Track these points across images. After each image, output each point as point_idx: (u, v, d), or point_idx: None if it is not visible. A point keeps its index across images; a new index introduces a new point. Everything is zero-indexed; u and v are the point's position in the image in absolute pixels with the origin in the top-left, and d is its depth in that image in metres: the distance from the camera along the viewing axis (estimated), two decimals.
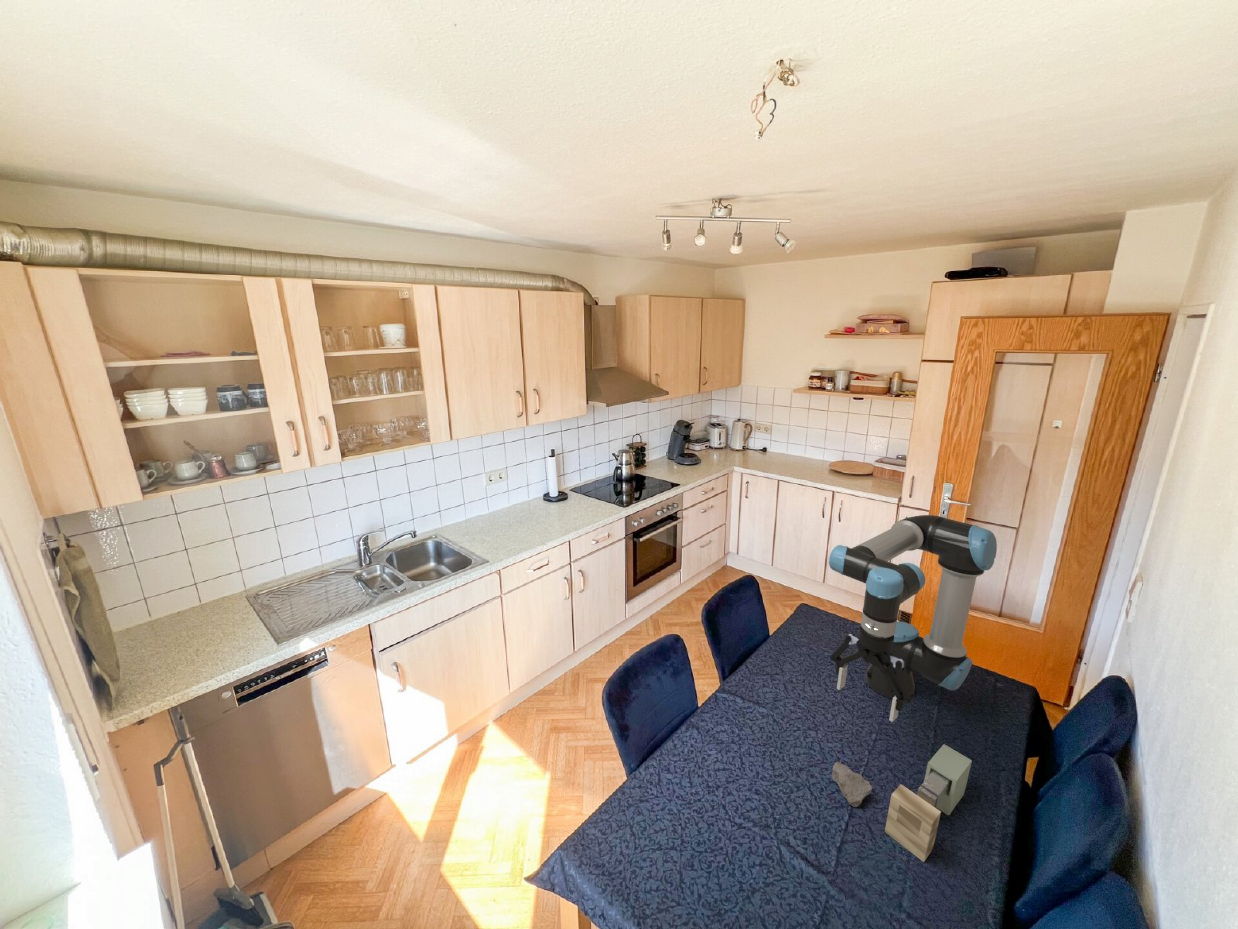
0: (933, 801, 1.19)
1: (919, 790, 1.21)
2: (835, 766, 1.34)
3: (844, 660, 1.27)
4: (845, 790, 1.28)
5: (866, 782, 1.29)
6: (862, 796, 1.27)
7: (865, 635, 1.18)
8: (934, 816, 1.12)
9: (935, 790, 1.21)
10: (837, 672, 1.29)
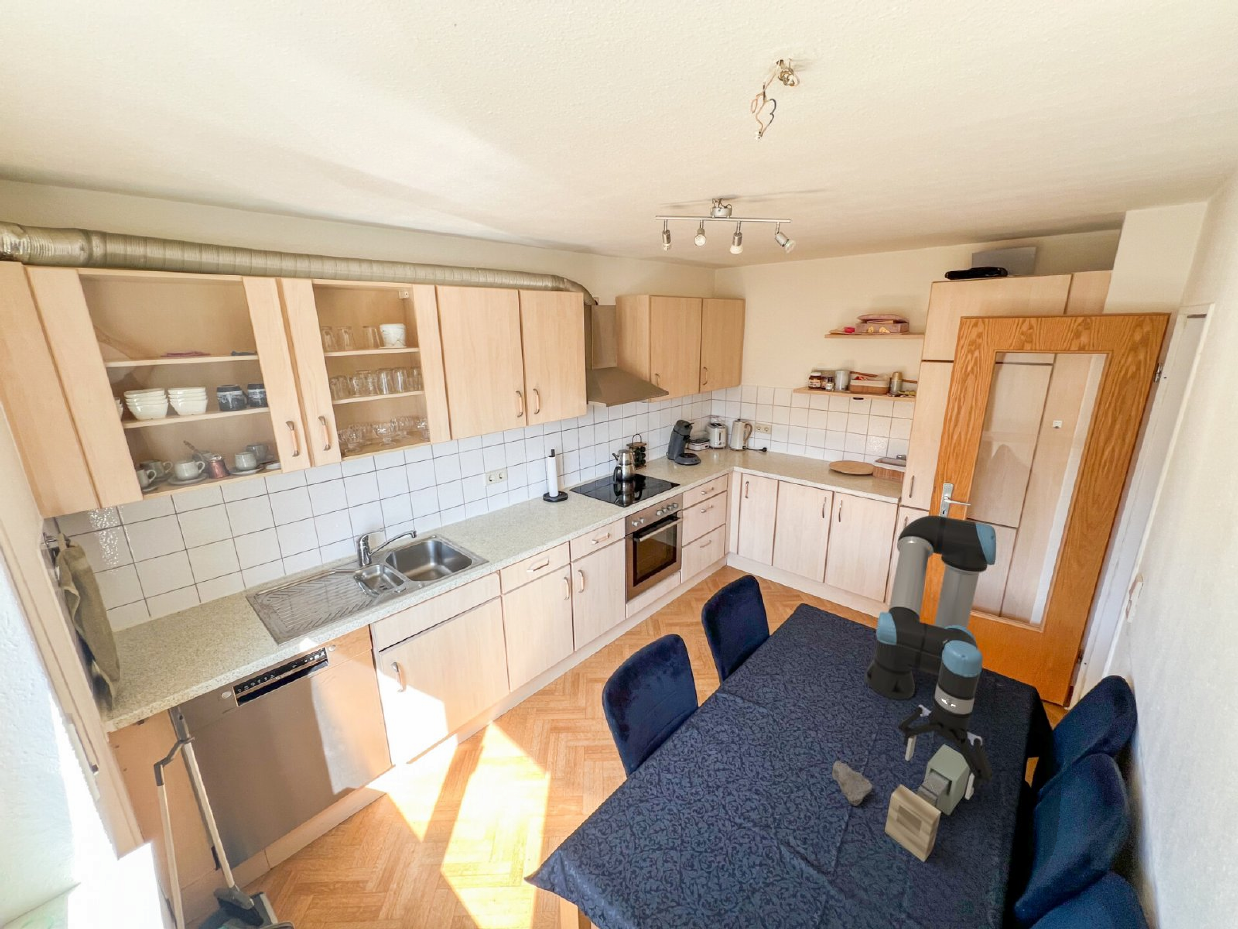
0: (933, 801, 1.19)
1: (919, 790, 1.21)
2: (835, 765, 1.34)
3: (914, 731, 1.24)
4: (845, 789, 1.28)
5: (866, 781, 1.29)
6: (862, 795, 1.27)
7: (941, 710, 1.16)
8: (934, 816, 1.12)
9: (935, 790, 1.21)
10: (905, 742, 1.27)
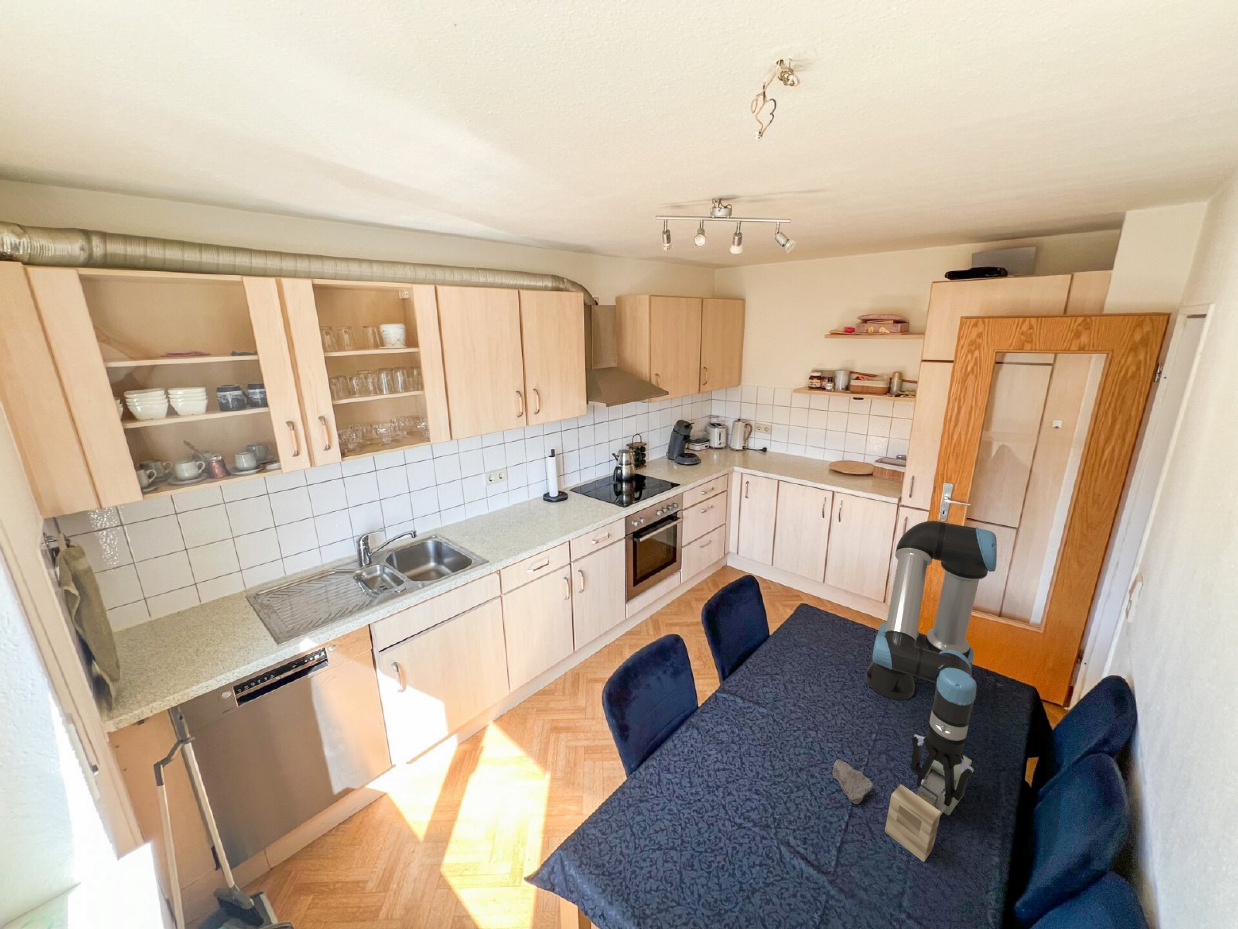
0: (933, 801, 1.19)
1: (919, 790, 1.21)
2: (836, 763, 1.34)
3: (922, 769, 1.24)
4: (846, 787, 1.29)
5: (867, 779, 1.30)
6: (863, 793, 1.27)
7: (935, 736, 1.18)
8: (934, 816, 1.12)
9: (935, 790, 1.21)
10: (918, 783, 1.26)
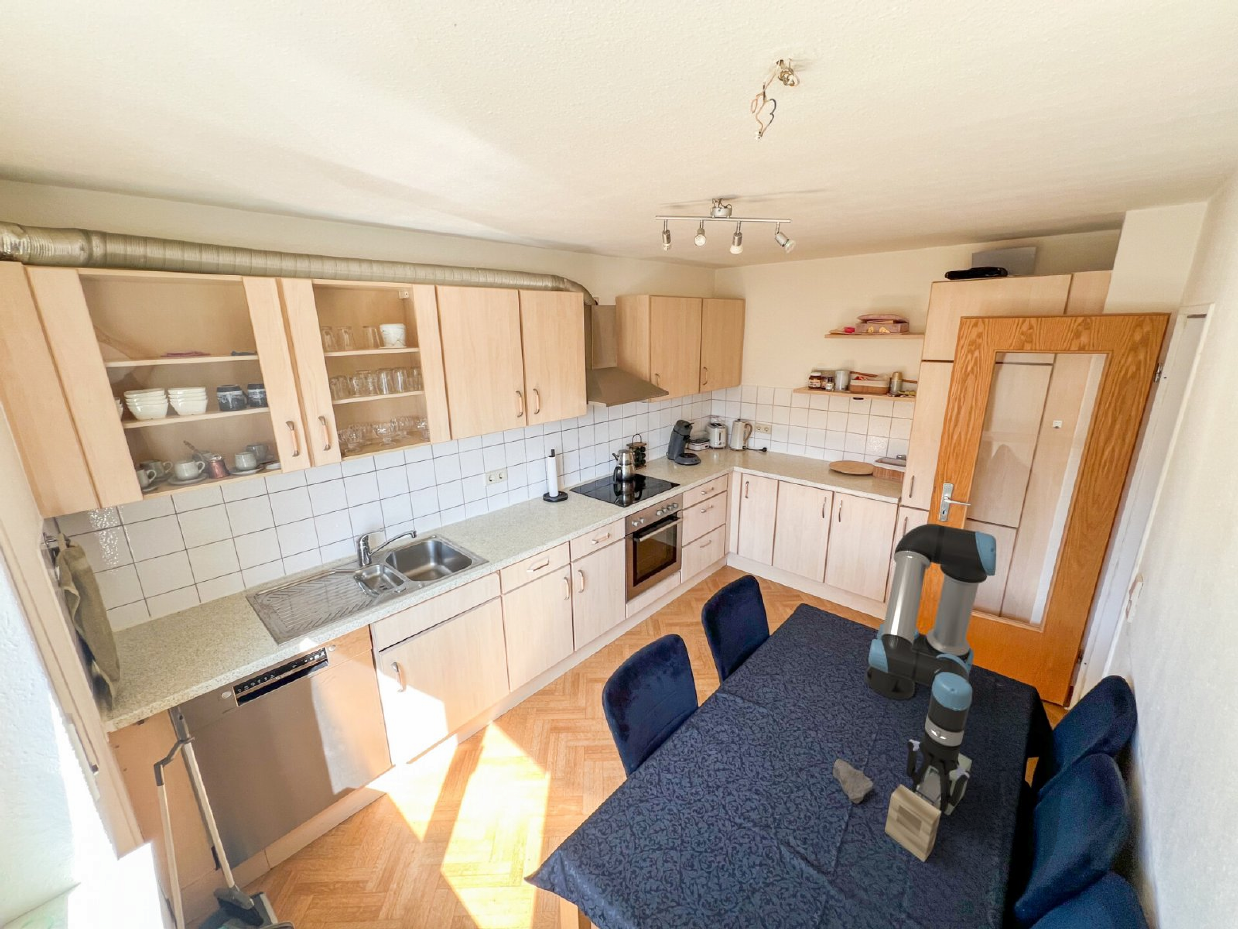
0: None
1: None
2: (836, 763, 1.35)
3: (918, 774, 1.22)
4: (846, 787, 1.29)
5: (867, 779, 1.30)
6: (863, 792, 1.28)
7: (931, 741, 1.16)
8: (934, 816, 1.12)
9: (930, 796, 1.19)
10: (914, 789, 1.24)
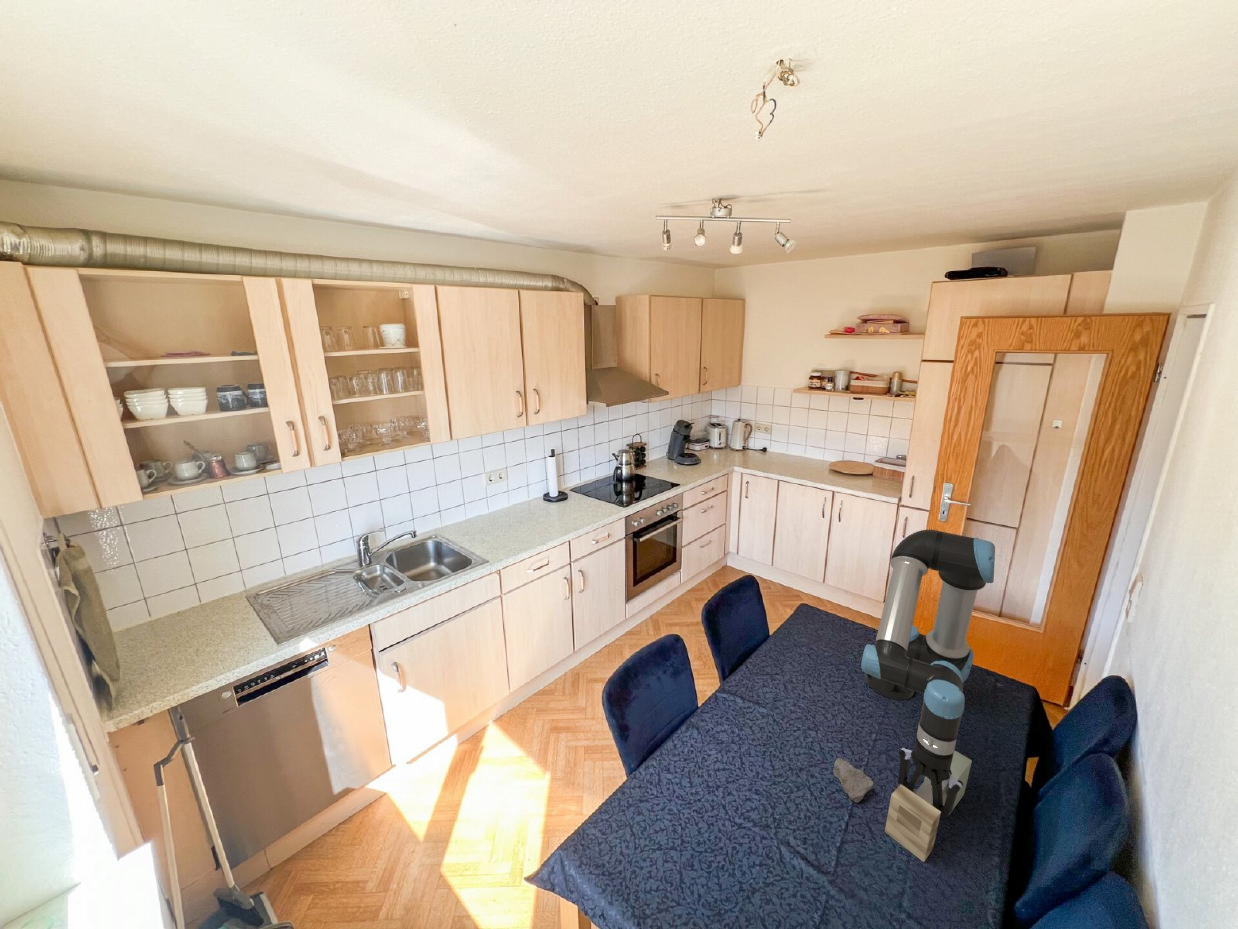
0: None
1: None
2: (837, 762, 1.35)
3: (910, 783, 1.20)
4: (847, 786, 1.29)
5: (867, 778, 1.30)
6: (863, 791, 1.28)
7: (923, 750, 1.14)
8: (934, 816, 1.12)
9: None
10: None
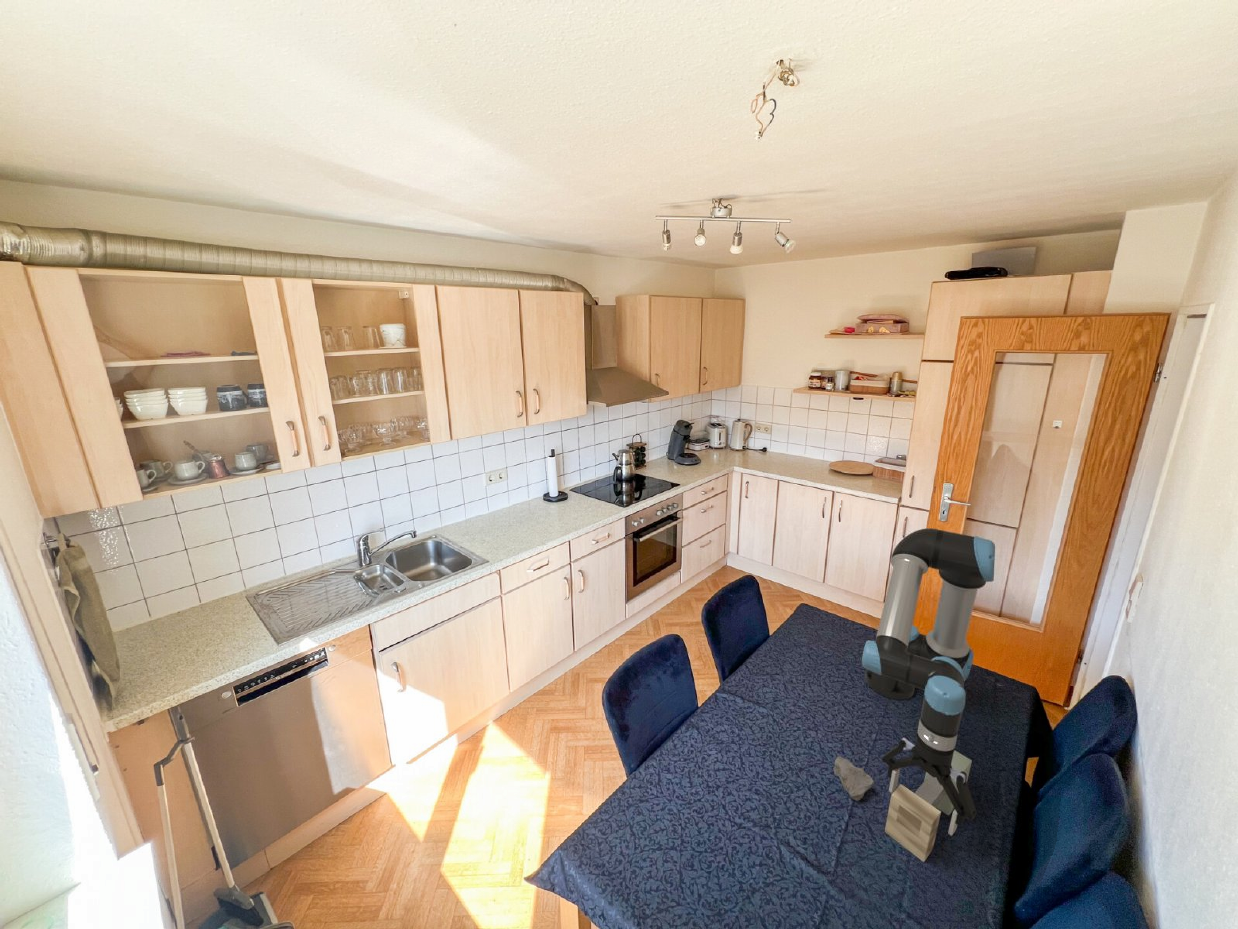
0: None
1: None
2: (837, 760, 1.35)
3: (898, 764, 1.22)
4: (847, 784, 1.30)
5: (868, 776, 1.31)
6: (864, 790, 1.28)
7: (923, 746, 1.13)
8: (934, 816, 1.12)
9: None
10: (889, 774, 1.25)
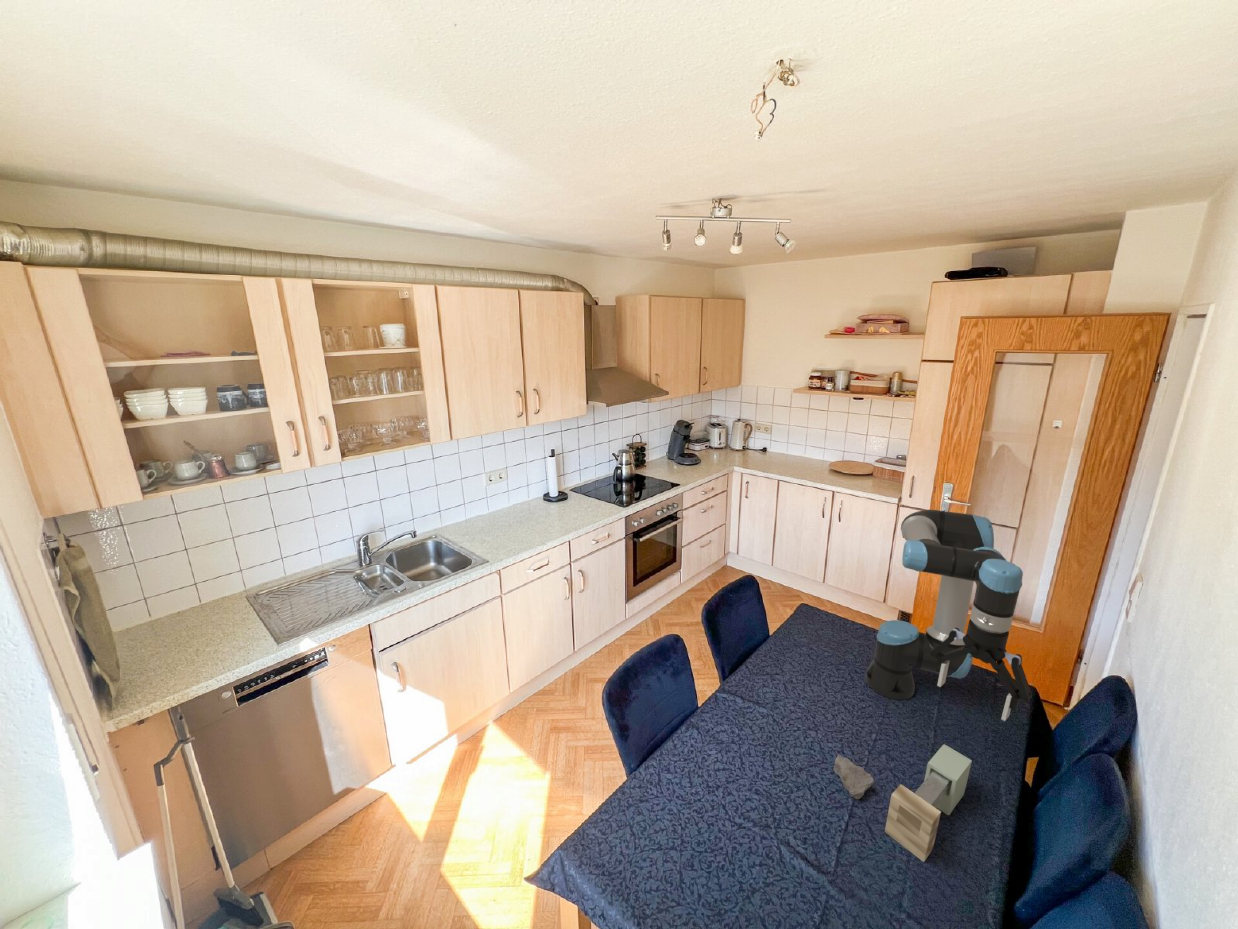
0: None
1: None
2: (837, 759, 1.36)
3: (947, 656, 1.21)
4: (847, 783, 1.30)
5: (868, 775, 1.31)
6: (864, 788, 1.29)
7: (977, 630, 1.12)
8: (934, 816, 1.12)
9: None
10: (938, 668, 1.23)
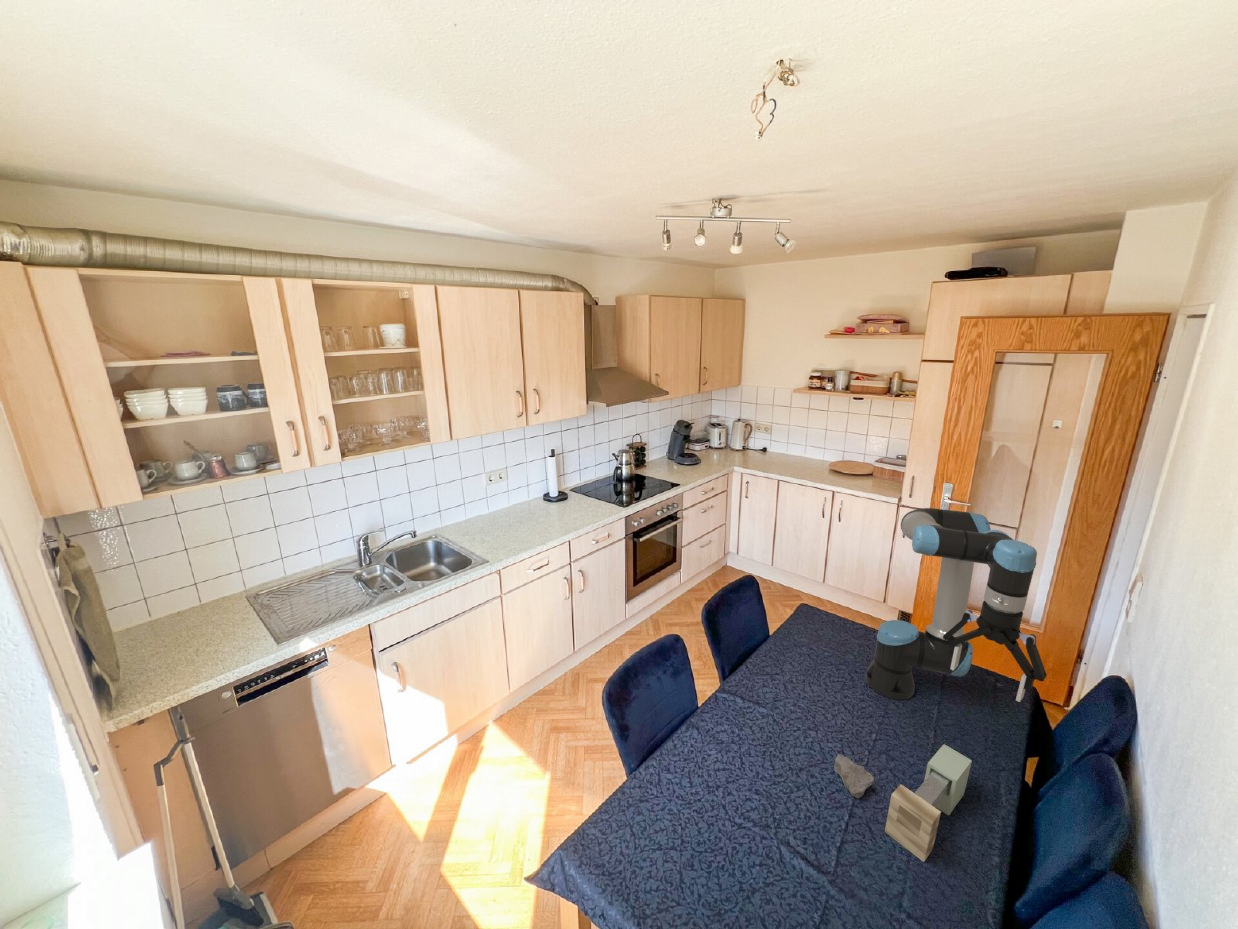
0: None
1: None
2: (837, 758, 1.36)
3: (961, 639, 1.21)
4: (848, 781, 1.30)
5: (868, 773, 1.31)
6: (864, 787, 1.29)
7: (991, 610, 1.13)
8: (934, 816, 1.12)
9: None
10: (951, 652, 1.24)
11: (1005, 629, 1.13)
